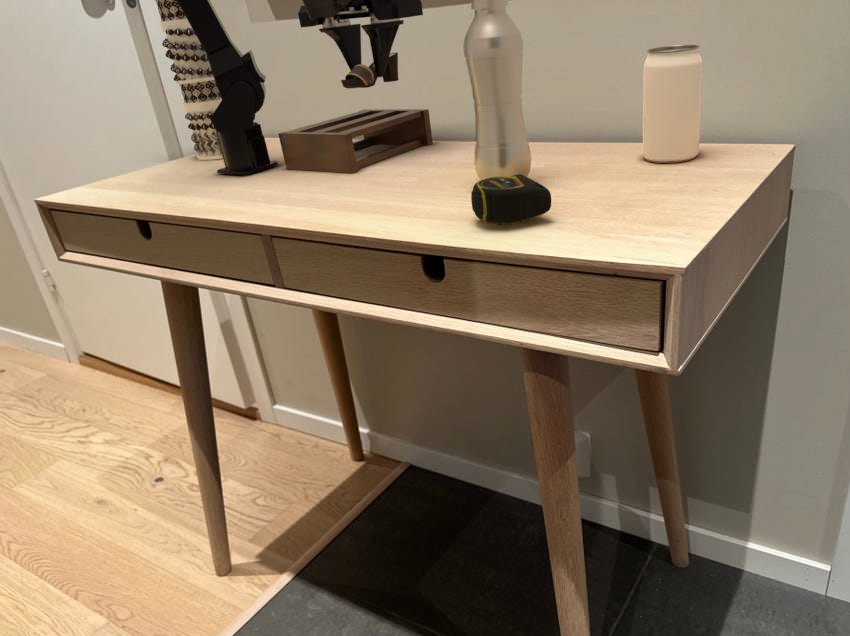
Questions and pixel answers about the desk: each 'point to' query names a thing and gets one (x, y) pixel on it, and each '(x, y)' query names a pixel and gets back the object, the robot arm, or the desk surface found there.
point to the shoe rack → (333, 138)
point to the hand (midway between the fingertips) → (368, 77)
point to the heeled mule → (371, 74)
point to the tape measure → (509, 199)
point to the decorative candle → (192, 78)
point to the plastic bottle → (497, 91)
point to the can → (672, 103)
